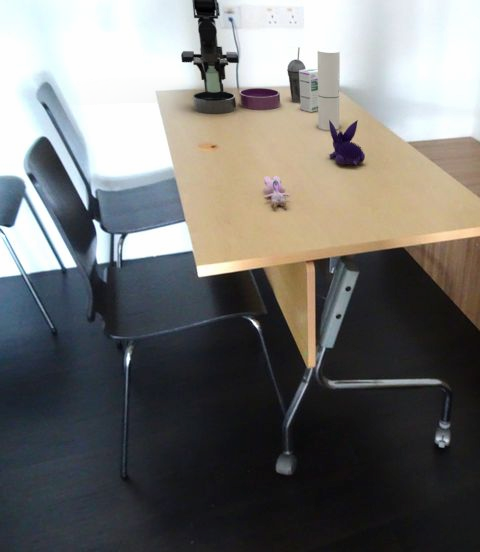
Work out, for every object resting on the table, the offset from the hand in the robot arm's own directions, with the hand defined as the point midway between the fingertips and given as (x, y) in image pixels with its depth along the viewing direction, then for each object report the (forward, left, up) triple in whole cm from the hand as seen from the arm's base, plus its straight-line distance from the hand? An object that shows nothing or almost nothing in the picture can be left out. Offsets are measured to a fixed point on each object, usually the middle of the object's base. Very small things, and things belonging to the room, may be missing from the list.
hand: (213, 82), depth 201 cm
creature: (+65, -21, -10) cm, 69 cm away
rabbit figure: (+64, -55, -10) cm, 85 cm away
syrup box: (+27, +22, -10) cm, 36 cm away
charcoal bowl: (0, 0, -10) cm, 10 cm away
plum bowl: (+9, +14, -10) cm, 19 cm away
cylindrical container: (+44, +6, -10) cm, 45 cm away
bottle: (0, 0, -3) cm, 3 cm away
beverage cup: (+16, +30, -10) cm, 35 cm away
